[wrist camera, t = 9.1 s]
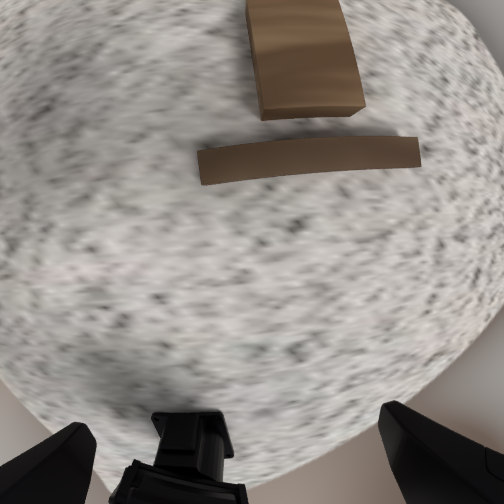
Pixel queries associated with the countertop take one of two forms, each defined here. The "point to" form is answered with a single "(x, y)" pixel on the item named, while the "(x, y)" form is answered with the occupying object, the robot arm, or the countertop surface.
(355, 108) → the slab
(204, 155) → the strip
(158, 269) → the countertop surface
